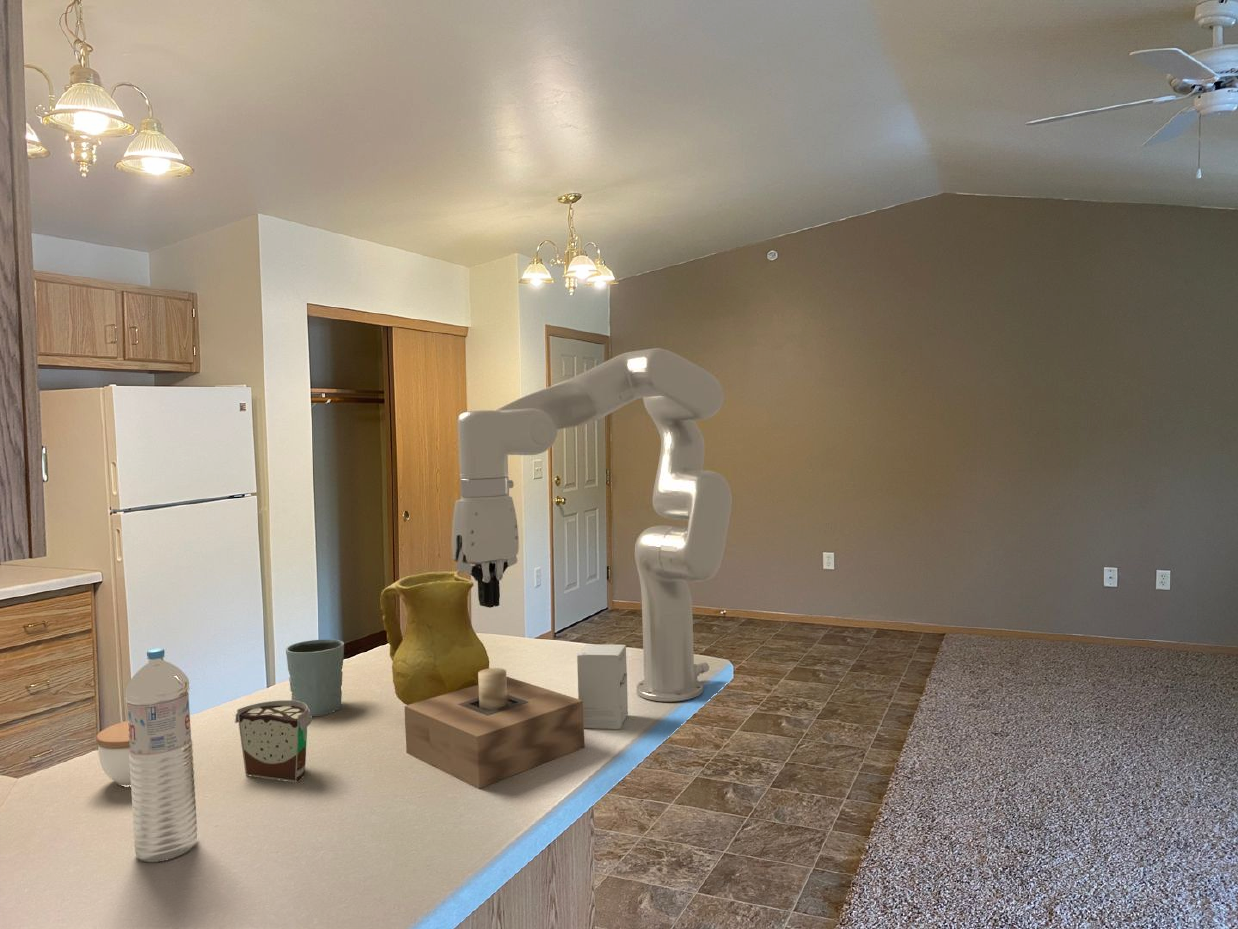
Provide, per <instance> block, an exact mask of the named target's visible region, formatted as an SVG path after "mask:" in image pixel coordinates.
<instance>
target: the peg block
mask: <svg viewBox="0 0 1238 929" xmlns="http://www.w3.org/2000/svg"><path fill="white" fill-rule="evenodd" d="M506 677H507V702H508V706H505V707H502V708H499V709H496V710H493V711H486V710H484V709H481V708H480V706H479V685H475V686H472V687H469V688H465V689H462V690H458V691H455V692H451V693H448V694H444V695H441V696H437V697H434V698H430V699H427V700H424V701H420V702H417V703H413V704H410V705H406V704H405V705H404V724H405V725H404V726H405V728H404V730H405V744H406V748H405V749H406V750H405V751H406V754H409V755H410V756H413V757H415V758H417V759H418V760H421V761H423V762H424V763H427V764H428V765H431V766H432V767H435V768H437V769H439V770H440V771H442V772H445V773H447V774H448V775H451V776H453V777H455V778H457V779H458V780H461V781H462V782H465V783H466V784H469V785H471V786H473V787H474V788H477V789H479V790H480V789H482V788H485V787H487V786H490V785H493V784H495V783H498V782H500V781H503V780H505V779H508V778H510V777H513V776H515V775H518V774H520V773H523V772H525V771H528V770H531V769H533V768H535V767H538V766H540V765H543V764H545V763H549V762H551V761H554V760H555V759H559V758H560V757H561V758H562V757H563V756H566V755H568V754H571V753H574V752H576V751H578V749H579V750H581V749H584V748H585V728H584V721H583V700H579V699H578V698H575V697H572V696H570V695H566V694H563V693H561V692H556V691H553V690H550V689H549V688H544V687H541V686H539V685H538V686H537V685H536V684H531V683H529V682H525V681H523V680H519V679H516V678H513V677H510V676H506ZM580 748H581V749H580Z"/></svg>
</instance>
